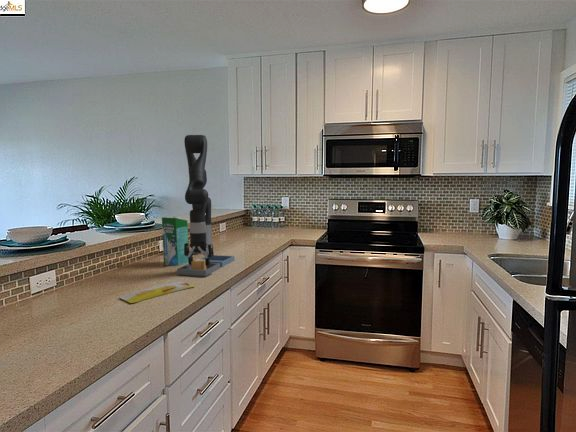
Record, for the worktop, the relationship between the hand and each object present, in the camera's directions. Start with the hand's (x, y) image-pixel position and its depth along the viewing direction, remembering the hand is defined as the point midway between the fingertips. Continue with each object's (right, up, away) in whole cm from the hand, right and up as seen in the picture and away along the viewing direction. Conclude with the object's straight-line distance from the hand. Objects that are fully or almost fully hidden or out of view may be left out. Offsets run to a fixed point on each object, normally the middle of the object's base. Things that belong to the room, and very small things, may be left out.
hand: (199, 265), depth 176 cm
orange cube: (0, -3, 0) cm, 3 cm away
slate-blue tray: (+5, -2, +17) cm, 17 cm away
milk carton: (-16, -2, +17) cm, 24 cm away
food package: (-9, -8, -30) cm, 32 cm away
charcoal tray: (0, -3, 0) cm, 3 cm away
